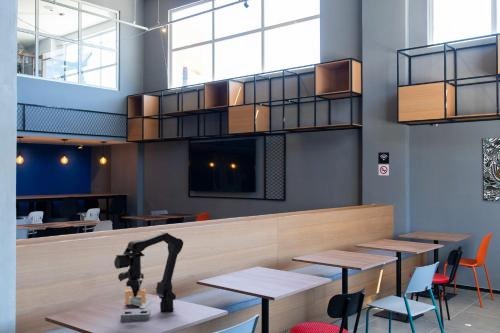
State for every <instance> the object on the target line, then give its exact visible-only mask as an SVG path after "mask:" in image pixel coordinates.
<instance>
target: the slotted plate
mask: <svg viewBox="0 0 500 333" xmlns="http://www.w3.org/2000/svg"><path fill="white" fill-rule="evenodd" d="M151 313H152V312H151V309H138V310H137V309H136V310H123V311H122V313H121V314H120V322H134V321H135V322H139V321H149V320H150V318H151Z"/></svg>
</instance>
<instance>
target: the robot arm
mask: <svg viewBox="0 0 500 333" xmlns="http://www.w3.org/2000/svg"><path fill="white" fill-rule="evenodd" d="M162 242H164V243H165V244H166V245H167V251H168V255H167V258H166V259H167V260H166V263H165V267H164V271H163V276H162V279H161V281H158V282H157V283H156V287H155V290H156V295H158V297H159V299H161V300H160V303H159V306H160V308H159V309H160V312H161V313H172V312H174V310H175V308H174V301H175V300H176V298H177V295H176V294H175V293H174V292H173V284H172V280H173V276H174V275H173V274H174V271H175V268H176V263H177V262H176V261H177V259H178V255H179V254H180V252H181V251H182V249H183V247H184V241H183V239H182V238H179V237H178V238H177V237H176V236H173V235H171V234H170V233H169V232H165V231H163V232H160V233H158V234H155V235H153V236H150V237H147V238H144V239H139V240H138V239H136V240H130V241H129V242H128V244H127V247H126V248H125V250H124V252H123V253H122V254H117V255H115V258H114V261H113V264H114V268H115V269H116V270H117V269H124V268H128V270H127V271H124V272H120V273H119V274H118V275H117V278H118V280H119V282H122V281H124V280H126V279H127V280H126V284H125V286H126V287H130V288H131V290H132V291H133V295H134V297H138V296H137V293H138V290H141V286H142V283H143V280H144V278H145V276H144V275H145V274H144V273H143V272H142V265H141V264H142V263H141V262H142V261H141V258H142V257H145V254H144V253H143V251H144V250H146V248H149V247H150V246H151V247H152V246H153V245H156V244H159V243H162ZM141 279H142V280H141Z"/></svg>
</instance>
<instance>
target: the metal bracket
mask: <svg viewBox="0 0 500 333" xmlns="http://www.w3.org/2000/svg"><path fill="white" fill-rule="evenodd" d="M151 303H153V301H152V300H149V299H146V303H141V296H136V297H134V296H130V304H125V306H128V305H134V306H137V307H139V309H141V310H146V308H147V307H148V306H149V305H151Z"/></svg>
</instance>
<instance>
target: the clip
mask: <svg viewBox="0 0 500 333" xmlns="http://www.w3.org/2000/svg"><path fill="white" fill-rule="evenodd" d="M146 290H147V289H139V290H138V293H137V296H136V297H141V303H146V301H147V295H146V292H147V291H146ZM124 296H125V297H124V299H125V300H124V305H126V304H128V305H131V304H130V297H131V296H134V295H133V291H132V289H125V291H124Z"/></svg>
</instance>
